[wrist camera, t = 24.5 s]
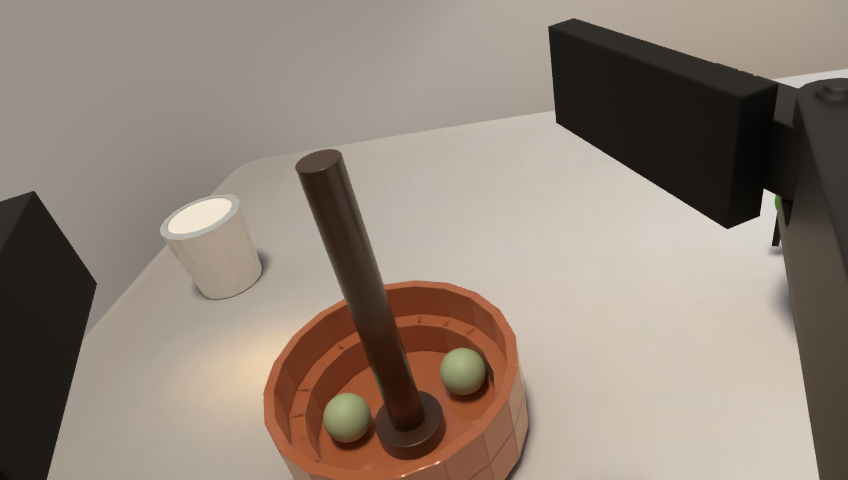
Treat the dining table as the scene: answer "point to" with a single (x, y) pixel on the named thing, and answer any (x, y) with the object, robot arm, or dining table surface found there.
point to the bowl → (425, 348)
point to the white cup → (214, 245)
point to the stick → (370, 309)
